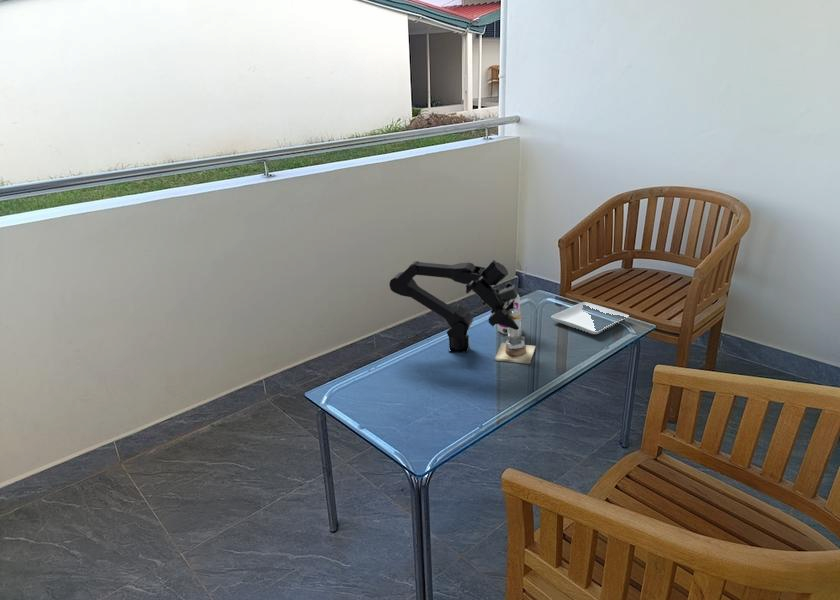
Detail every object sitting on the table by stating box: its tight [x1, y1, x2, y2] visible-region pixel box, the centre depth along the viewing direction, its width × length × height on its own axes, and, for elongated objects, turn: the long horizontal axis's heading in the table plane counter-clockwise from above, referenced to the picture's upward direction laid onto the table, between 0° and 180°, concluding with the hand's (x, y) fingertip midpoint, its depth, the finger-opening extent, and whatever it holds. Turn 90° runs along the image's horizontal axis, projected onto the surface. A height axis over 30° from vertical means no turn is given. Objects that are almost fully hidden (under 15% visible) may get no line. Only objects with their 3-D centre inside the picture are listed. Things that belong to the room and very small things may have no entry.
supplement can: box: [497, 294, 521, 336], centre depth 223 cm, size 8×8×15 cm
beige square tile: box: [494, 342, 537, 364], centre depth 208 cm, size 12×12×3 cm
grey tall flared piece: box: [504, 309, 526, 350], centre depth 205 cm, size 7×6×13 cm
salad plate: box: [551, 301, 630, 335], centre depth 228 cm, size 21×21×3 cm
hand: (519, 325), depth 204 cm, fingers open, 5 cm apart
